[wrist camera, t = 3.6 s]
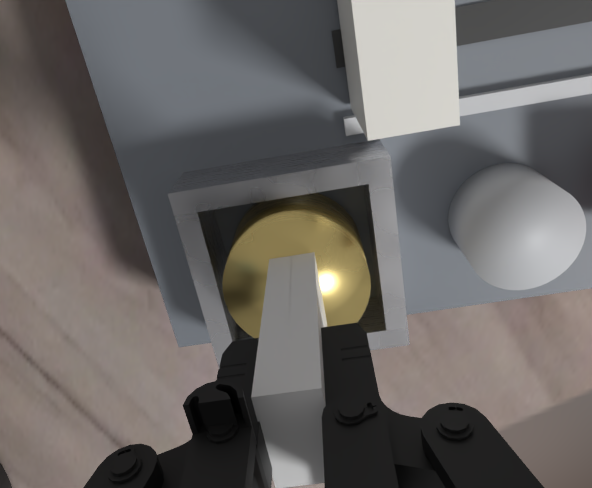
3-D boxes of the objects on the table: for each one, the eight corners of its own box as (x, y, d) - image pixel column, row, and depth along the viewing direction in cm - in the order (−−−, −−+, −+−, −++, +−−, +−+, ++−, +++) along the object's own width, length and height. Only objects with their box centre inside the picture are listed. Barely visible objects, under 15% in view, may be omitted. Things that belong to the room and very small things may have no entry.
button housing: (228, 334, 22) (220, 371, 20) (183, 172, 19) (167, 193, 17) (398, 309, 22) (409, 344, 19) (379, 138, 19) (390, 156, 16)
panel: (195, 300, 26) (165, 385, 20) (99, -25, 20) (14, -40, 14) (684, 226, 24) (808, 296, 18) (742, -157, 18) (956, -238, 12)
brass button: (248, 313, 21) (240, 358, 18) (219, 201, 19) (206, 233, 16) (368, 296, 21) (378, 339, 18) (352, 179, 19) (361, 208, 16)
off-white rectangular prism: (350, 108, 18) (367, 141, 13) (334, -18, 16) (347, -29, 12) (419, 96, 18) (460, 124, 13) (409, -33, 16) (452, -50, 12)
